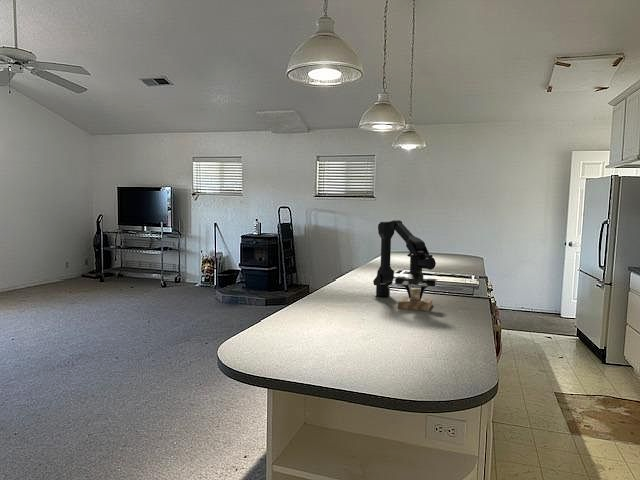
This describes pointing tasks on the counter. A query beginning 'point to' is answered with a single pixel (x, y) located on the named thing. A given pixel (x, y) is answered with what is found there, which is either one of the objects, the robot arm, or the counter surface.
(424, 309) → the seat block
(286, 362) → the counter surface
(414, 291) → the peg
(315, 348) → the counter surface
